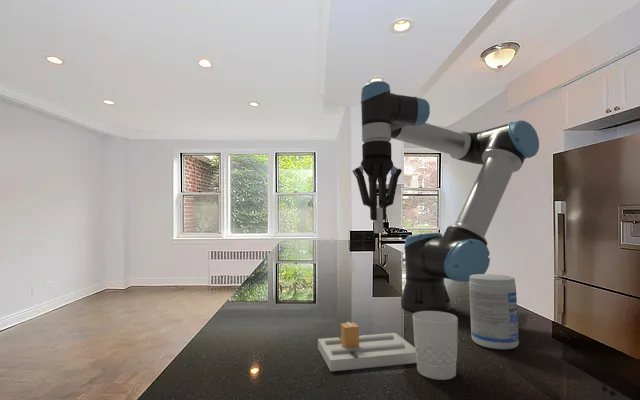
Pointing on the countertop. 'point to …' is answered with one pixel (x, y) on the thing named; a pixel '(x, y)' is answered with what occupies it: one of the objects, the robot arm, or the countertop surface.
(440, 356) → the white cup
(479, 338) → the supplement tub
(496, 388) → the countertop surface
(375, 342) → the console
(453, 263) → the robot arm
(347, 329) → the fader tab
